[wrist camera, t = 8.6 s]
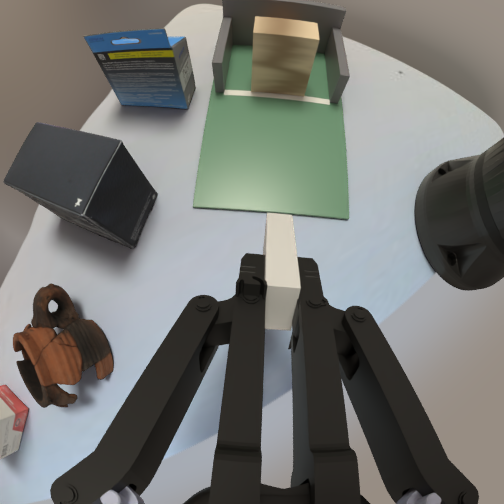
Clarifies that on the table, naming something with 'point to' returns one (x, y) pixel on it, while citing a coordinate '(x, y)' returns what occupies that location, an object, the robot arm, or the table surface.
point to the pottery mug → (59, 349)
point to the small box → (84, 181)
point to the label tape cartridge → (145, 67)
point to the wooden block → (283, 55)
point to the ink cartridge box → (10, 421)
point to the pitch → (275, 122)
